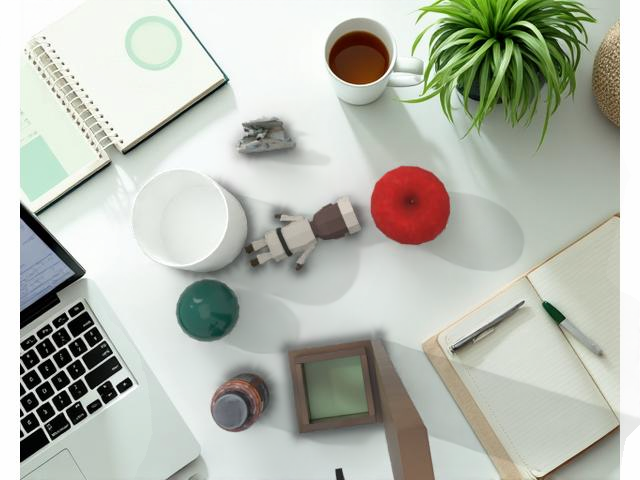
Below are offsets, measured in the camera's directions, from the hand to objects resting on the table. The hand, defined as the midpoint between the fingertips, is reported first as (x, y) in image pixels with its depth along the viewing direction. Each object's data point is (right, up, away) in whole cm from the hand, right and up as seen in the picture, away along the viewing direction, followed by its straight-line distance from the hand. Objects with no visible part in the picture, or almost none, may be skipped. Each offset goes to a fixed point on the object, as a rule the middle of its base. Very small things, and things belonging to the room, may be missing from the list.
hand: (300, 477), depth 60 cm
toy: (0, +24, +22) cm, 33 cm away
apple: (+13, +27, +22) cm, 37 cm away
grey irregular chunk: (-5, +37, +24) cm, 44 cm away
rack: (+5, +4, +20) cm, 21 cm away
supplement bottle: (-8, +3, +21) cm, 22 cm away
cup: (-14, +25, +23) cm, 37 cm away
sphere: (-12, +14, +22) cm, 29 cm away
